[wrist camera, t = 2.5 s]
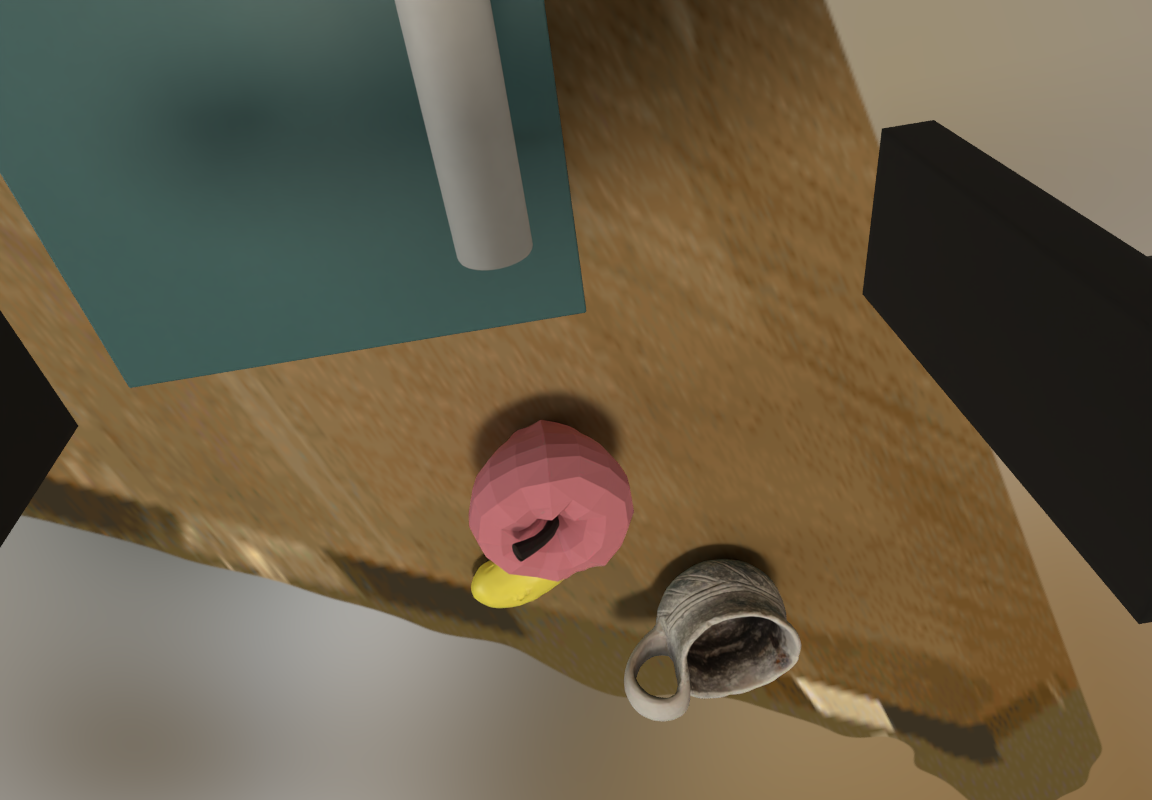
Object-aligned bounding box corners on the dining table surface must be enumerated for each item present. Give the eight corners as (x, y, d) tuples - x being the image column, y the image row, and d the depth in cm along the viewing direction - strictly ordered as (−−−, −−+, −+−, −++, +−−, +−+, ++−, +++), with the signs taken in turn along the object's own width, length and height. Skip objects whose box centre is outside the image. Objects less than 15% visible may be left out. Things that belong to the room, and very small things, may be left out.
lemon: (457, 555, 54) (457, 600, 51) (561, 515, 53) (566, 558, 50) (485, 589, 57) (486, 633, 54) (584, 551, 55) (591, 595, 52)
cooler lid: (484, -427, 18) (492, -580, 11) (584, 302, 30) (617, 447, 23) (-268, -310, 18) (-737, -392, 11) (136, 376, 30) (35, 544, 23)
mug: (780, 600, 61) (826, 717, 54) (630, 644, 63) (654, 764, 55) (758, 523, 56) (806, 641, 48) (595, 573, 57) (615, 696, 49)
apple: (508, 511, 52) (515, 635, 44) (440, 425, 47) (435, 547, 39) (637, 456, 50) (668, 575, 43) (581, 361, 45) (605, 475, 38)
